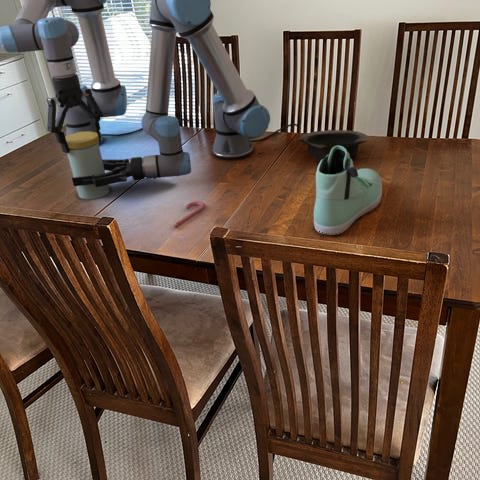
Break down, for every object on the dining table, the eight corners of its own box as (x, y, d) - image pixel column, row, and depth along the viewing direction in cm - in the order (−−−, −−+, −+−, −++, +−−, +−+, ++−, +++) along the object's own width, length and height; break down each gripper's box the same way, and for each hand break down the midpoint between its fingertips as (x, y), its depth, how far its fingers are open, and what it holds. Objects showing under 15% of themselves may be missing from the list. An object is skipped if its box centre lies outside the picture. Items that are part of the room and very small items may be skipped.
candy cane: (161, 224, 139) (160, 219, 138) (194, 202, 149) (194, 198, 148) (177, 229, 135) (176, 224, 135) (209, 207, 145) (209, 202, 145)
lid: (79, 150, 145) (77, 145, 144) (55, 145, 151) (54, 140, 150) (106, 139, 153) (105, 134, 152) (83, 134, 158) (82, 129, 158)
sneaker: (389, 187, 148) (396, 123, 138) (356, 242, 123) (361, 168, 112) (346, 181, 154) (350, 119, 144) (306, 232, 129) (307, 161, 118)
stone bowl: (326, 174, 159) (325, 147, 154) (286, 157, 179) (284, 133, 175) (384, 156, 168) (385, 130, 163) (340, 142, 188) (339, 118, 184)
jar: (115, 190, 161) (103, 138, 151) (89, 202, 155) (74, 148, 145) (98, 183, 167) (86, 132, 157) (72, 194, 161) (58, 141, 151)
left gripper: (33, 85, 132) (55, 160, 143) (105, 68, 146) (119, 137, 157) (20, 82, 136) (42, 155, 148) (91, 66, 150) (106, 133, 162)
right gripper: (143, 192, 151) (72, 200, 149) (147, 165, 170) (84, 172, 169) (139, 170, 147) (66, 178, 146) (144, 145, 166) (79, 152, 165)
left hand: (82, 146), depth 152 cm, fingers closed on lid, 11 cm apart
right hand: (76, 175), depth 157 cm, fingers closed on jar, 10 cm apart
